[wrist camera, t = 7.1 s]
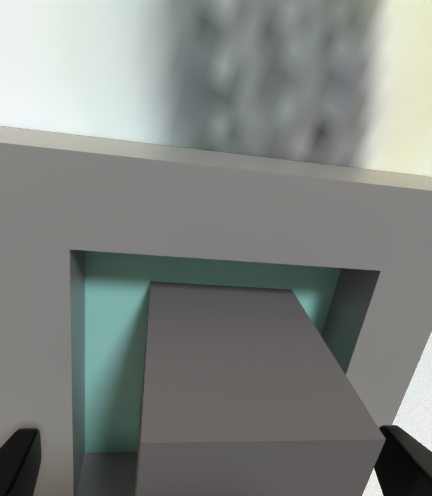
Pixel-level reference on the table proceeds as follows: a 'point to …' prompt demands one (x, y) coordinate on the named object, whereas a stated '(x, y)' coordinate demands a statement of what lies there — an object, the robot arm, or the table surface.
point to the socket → (187, 278)
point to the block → (246, 399)
